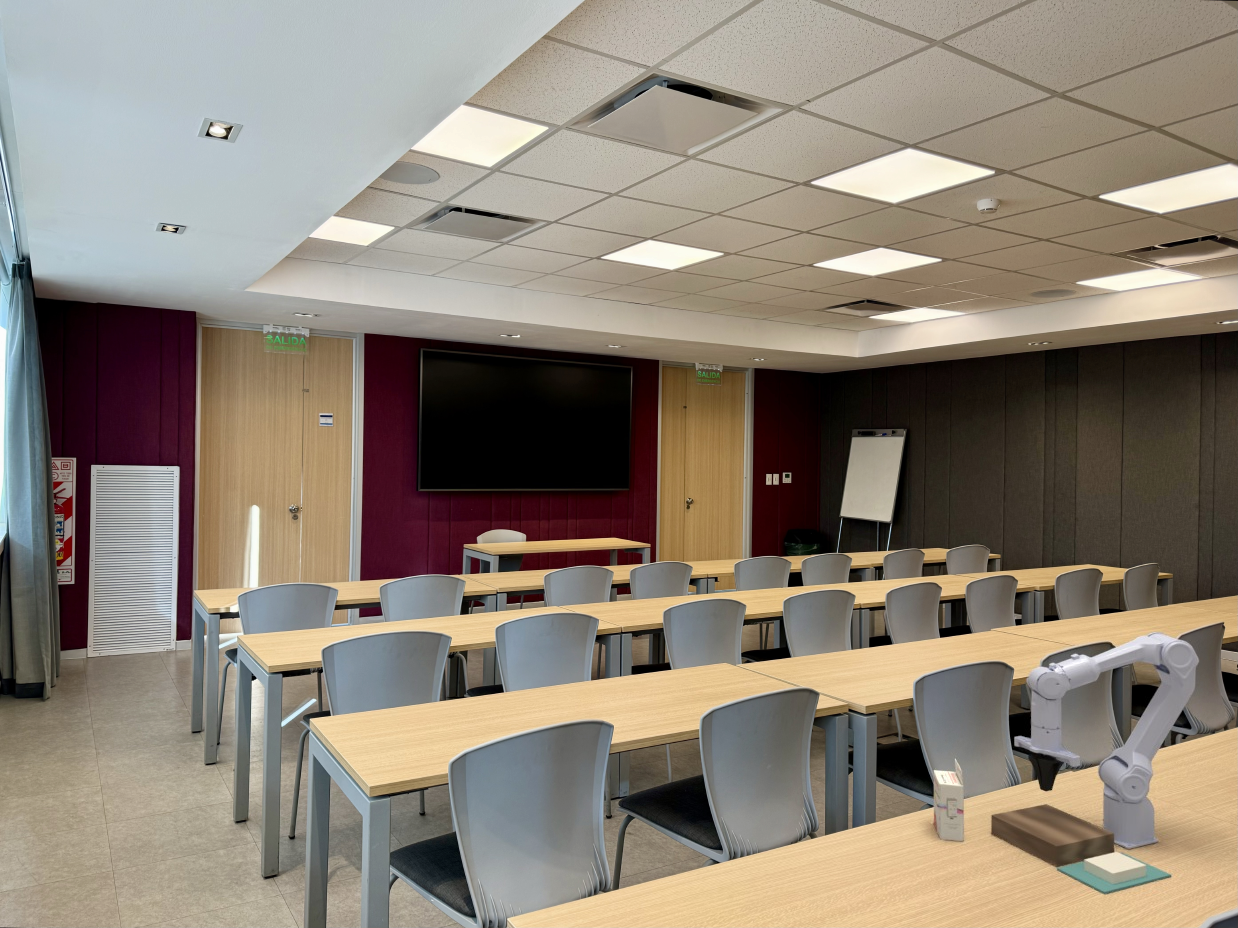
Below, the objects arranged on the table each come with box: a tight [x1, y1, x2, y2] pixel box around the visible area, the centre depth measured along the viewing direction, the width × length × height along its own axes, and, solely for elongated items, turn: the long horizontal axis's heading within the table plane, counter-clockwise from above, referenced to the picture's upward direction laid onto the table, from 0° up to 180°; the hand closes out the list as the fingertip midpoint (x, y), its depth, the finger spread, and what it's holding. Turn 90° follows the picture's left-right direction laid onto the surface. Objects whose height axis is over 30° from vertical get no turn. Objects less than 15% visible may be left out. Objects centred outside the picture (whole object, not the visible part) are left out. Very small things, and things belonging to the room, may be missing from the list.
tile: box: [1083, 851, 1146, 884], centre depth 158 cm, size 9×6×2 cm, turn 112°
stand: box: [990, 804, 1115, 868], centre depth 172 cm, size 16×16×4 cm
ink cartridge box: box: [933, 758, 965, 842], centre depth 177 cm, size 9×5×15 cm, turn 168°
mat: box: [1056, 852, 1172, 895], centre depth 159 cm, size 18×10×1 cm, turn 112°
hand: (1046, 789), depth 176 cm, fingers closed
